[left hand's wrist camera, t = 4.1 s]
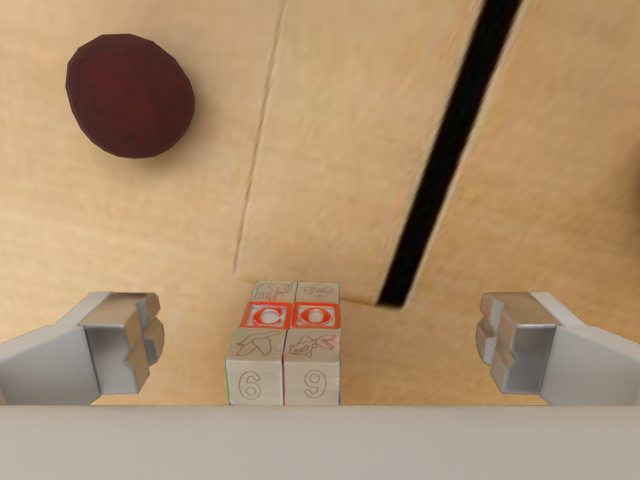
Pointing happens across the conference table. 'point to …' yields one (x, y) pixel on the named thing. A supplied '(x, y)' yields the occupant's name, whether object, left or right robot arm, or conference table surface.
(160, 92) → the plum
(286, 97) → the conference table surface
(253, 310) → the stack of blocks
